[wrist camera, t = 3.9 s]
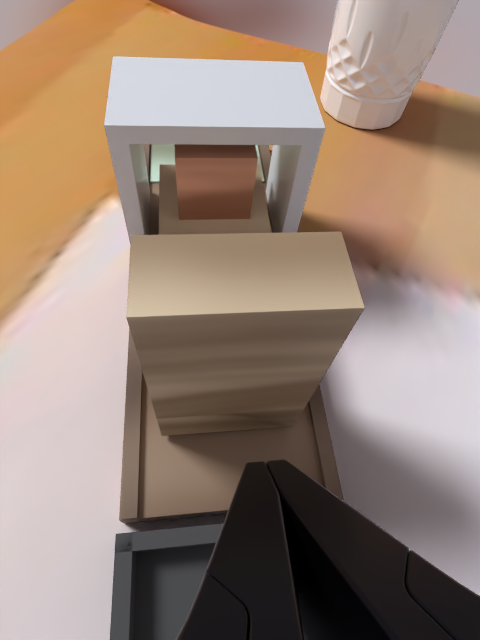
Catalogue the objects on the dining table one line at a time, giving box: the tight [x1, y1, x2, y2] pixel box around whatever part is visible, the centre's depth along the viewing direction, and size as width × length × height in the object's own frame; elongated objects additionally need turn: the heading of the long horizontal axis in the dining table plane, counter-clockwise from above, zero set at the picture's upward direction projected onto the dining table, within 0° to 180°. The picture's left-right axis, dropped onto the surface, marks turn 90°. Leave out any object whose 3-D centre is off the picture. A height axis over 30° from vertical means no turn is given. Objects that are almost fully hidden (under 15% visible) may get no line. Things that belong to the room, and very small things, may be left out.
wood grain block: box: [126, 144, 365, 436], centre depth 17 cm, size 14×6×9 cm, turn 5°
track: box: [119, 144, 343, 523], centre depth 23 cm, size 24×9×1 cm, turn 5°
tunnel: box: [104, 57, 325, 244], centre depth 21 cm, size 5×9×8 cm, turn 95°
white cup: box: [320, 0, 459, 130], centre depth 30 cm, size 8×8×10 cm
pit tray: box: [110, 523, 223, 640], centre depth 15 cm, size 6×9×2 cm, turn 95°
